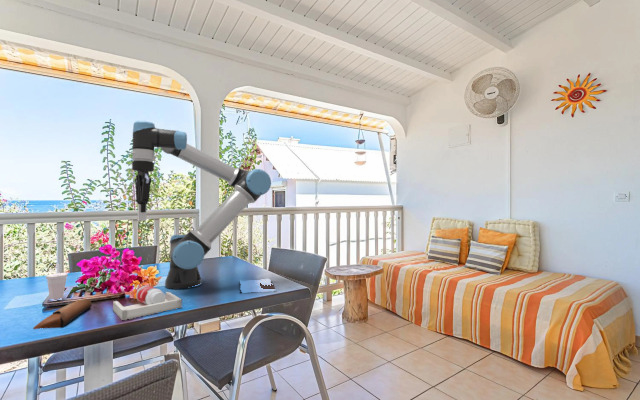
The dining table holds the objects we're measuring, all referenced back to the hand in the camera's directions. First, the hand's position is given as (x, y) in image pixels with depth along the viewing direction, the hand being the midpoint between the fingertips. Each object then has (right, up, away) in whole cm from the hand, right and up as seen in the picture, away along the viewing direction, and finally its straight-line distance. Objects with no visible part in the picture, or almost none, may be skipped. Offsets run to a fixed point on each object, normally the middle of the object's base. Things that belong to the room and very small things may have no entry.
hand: (141, 220), depth 125 cm
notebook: (+42, -32, +19) cm, 56 cm away
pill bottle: (+5, -27, -7) cm, 28 cm away
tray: (+10, -30, -13) cm, 35 cm away
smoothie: (-30, -30, -5) cm, 42 cm away
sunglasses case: (-12, -31, -23) cm, 40 cm away
